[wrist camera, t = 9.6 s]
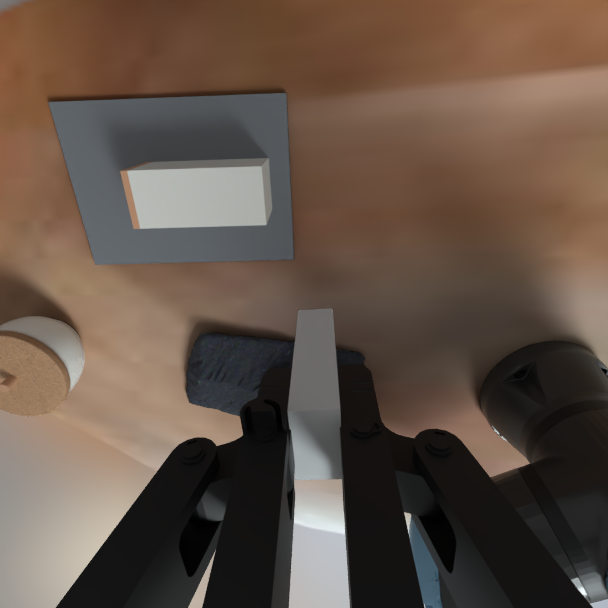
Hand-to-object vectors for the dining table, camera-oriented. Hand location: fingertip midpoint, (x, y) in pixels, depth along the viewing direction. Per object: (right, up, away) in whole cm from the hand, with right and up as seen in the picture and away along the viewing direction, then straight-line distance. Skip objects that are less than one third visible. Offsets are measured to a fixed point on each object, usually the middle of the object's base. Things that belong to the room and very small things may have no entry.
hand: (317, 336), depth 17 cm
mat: (-13, +13, +23) cm, 29 cm away
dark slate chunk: (-4, -8, +34) cm, 35 cm away
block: (-16, +12, +19) cm, 28 cm away
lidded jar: (-31, -3, +31) cm, 44 cm away
